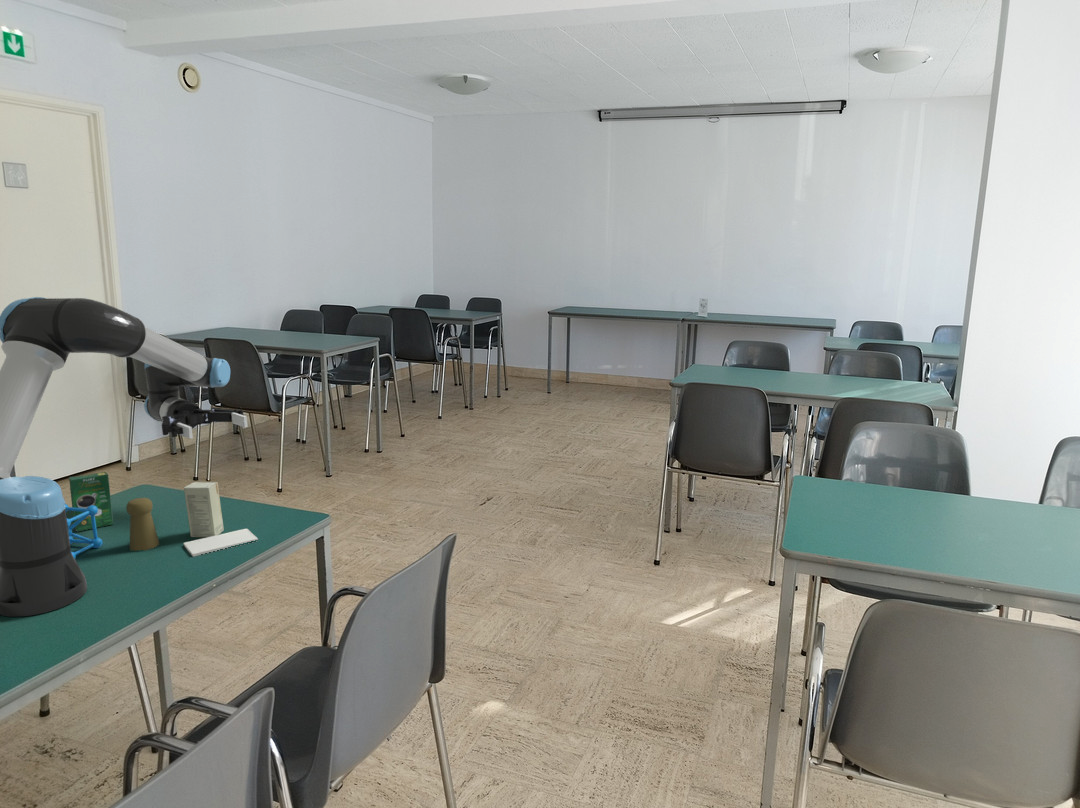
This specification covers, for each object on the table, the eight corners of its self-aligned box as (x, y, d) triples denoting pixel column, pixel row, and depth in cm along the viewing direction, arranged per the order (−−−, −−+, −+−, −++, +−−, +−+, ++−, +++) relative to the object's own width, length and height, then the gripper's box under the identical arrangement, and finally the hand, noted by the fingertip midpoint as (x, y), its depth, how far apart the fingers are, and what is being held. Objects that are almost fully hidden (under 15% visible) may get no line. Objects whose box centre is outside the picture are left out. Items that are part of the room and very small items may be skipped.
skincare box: (224, 530, 179) (219, 481, 177) (215, 538, 175) (210, 487, 172) (198, 530, 180) (193, 481, 177) (188, 537, 176) (183, 487, 173)
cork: (123, 549, 169) (116, 502, 167) (144, 539, 175) (138, 493, 172) (144, 552, 167) (138, 505, 165) (165, 542, 173) (160, 496, 170)
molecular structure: (70, 564, 161) (63, 520, 159) (30, 560, 163) (23, 517, 161) (105, 546, 171) (99, 504, 169) (67, 542, 173) (61, 501, 171)
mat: (193, 556, 165) (192, 554, 164) (183, 545, 171) (183, 542, 171) (258, 541, 173) (257, 538, 173) (247, 530, 179) (246, 528, 179)
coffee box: (112, 521, 186) (105, 470, 183) (115, 524, 183) (108, 473, 181) (74, 529, 181) (67, 476, 178) (76, 532, 179) (69, 479, 176)
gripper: (228, 418, 206) (268, 432, 193) (132, 437, 188) (167, 453, 174) (226, 392, 205) (265, 403, 191) (128, 408, 187) (164, 422, 173)
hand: (219, 427), depth 183 cm, fingers open, 13 cm apart
